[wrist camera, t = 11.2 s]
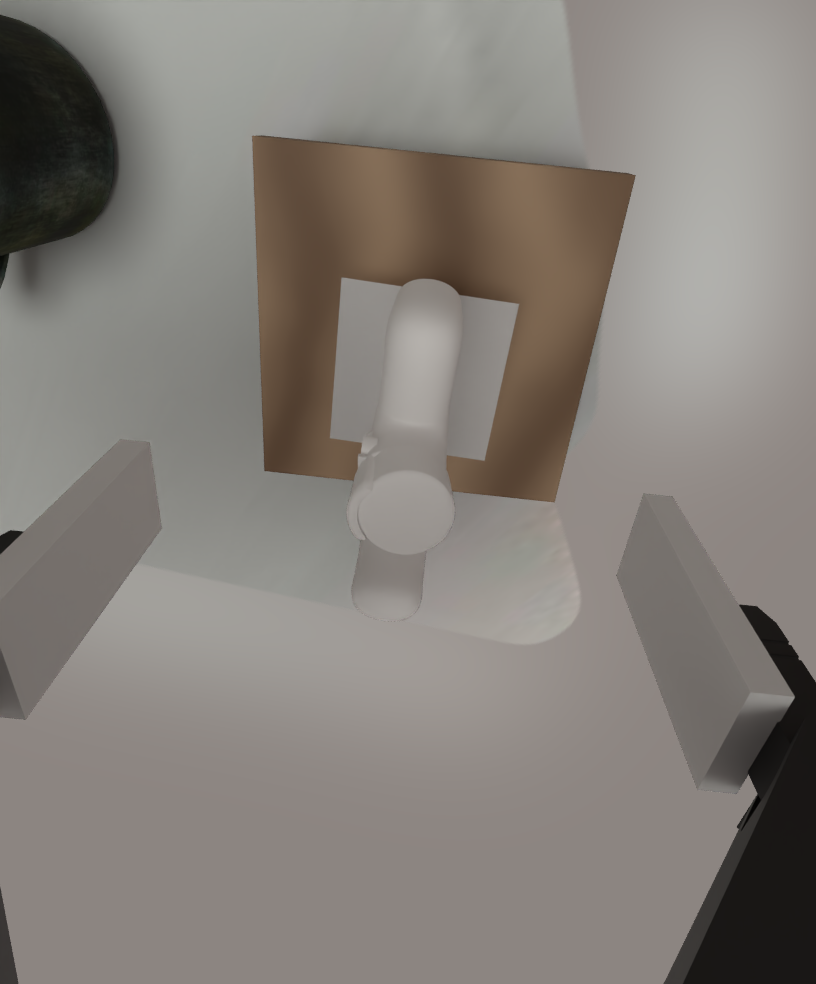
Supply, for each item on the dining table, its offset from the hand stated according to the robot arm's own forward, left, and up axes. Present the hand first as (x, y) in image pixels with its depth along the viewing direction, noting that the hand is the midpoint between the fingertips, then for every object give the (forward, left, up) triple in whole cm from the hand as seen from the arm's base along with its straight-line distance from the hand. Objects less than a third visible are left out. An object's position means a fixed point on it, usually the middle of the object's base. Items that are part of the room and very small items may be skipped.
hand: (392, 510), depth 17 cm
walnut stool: (0, 0, -23) cm, 23 cm away
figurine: (0, 0, -15) cm, 15 cm away
